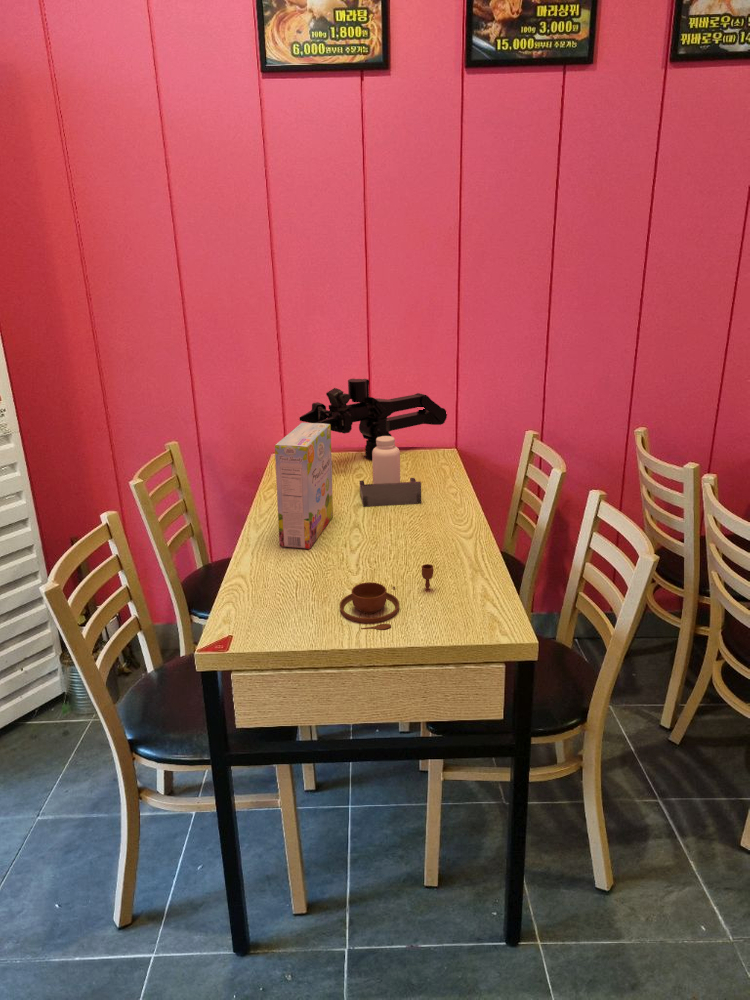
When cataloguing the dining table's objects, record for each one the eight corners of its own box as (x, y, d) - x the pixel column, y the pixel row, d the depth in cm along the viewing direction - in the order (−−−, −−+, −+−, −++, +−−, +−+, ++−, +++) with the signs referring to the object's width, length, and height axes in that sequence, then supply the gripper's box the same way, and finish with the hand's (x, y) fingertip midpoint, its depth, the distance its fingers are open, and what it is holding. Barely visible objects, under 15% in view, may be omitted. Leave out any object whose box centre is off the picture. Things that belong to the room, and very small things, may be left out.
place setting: (339, 592, 158) (338, 567, 156) (432, 587, 159) (432, 562, 157) (341, 635, 142) (339, 607, 140) (445, 629, 143) (445, 601, 141)
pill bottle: (369, 491, 214) (368, 441, 209) (377, 482, 221) (376, 433, 216) (396, 493, 212) (395, 442, 207) (403, 484, 219) (402, 435, 214)
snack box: (313, 550, 177) (307, 446, 168) (278, 548, 178) (270, 445, 169) (336, 516, 197) (331, 421, 188) (304, 515, 198) (298, 421, 189)
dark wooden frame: (359, 490, 215) (359, 470, 213) (414, 487, 216) (414, 467, 214) (363, 506, 203) (362, 486, 201) (421, 503, 204) (421, 482, 202)
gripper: (333, 383, 237) (290, 390, 229) (366, 393, 223) (322, 401, 214) (334, 417, 241) (292, 425, 233) (367, 429, 227) (324, 438, 218)
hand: (307, 422), depth 224 cm, fingers open, 9 cm apart
